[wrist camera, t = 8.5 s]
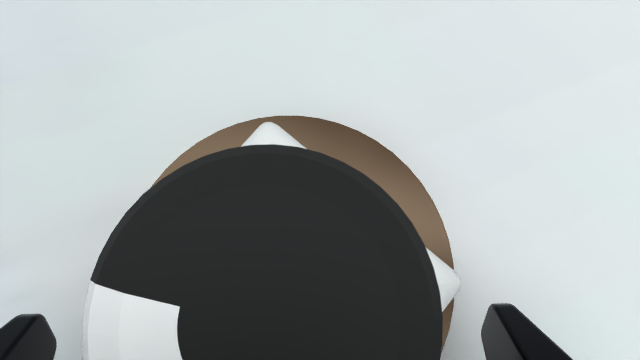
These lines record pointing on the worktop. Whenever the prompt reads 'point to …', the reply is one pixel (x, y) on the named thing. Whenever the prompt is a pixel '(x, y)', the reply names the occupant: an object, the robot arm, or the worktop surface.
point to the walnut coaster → (358, 155)
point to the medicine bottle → (266, 265)
